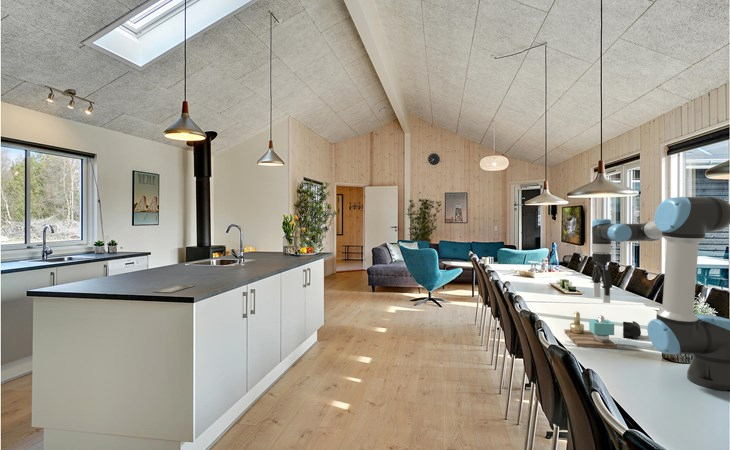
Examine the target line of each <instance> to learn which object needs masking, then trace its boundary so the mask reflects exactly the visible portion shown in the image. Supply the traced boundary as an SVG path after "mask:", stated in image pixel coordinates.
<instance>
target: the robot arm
mask: <svg viewBox="0 0 730 450" xmlns="http://www.w3.org/2000/svg"><path fill="white" fill-rule="evenodd" d="M729 226H730V203H729V201H726V200H725V199H723V198H720V197H715V196H678V197H677V196H676V197H669V198H666V199H665V200H663V201H662V202H661V203H660V204H659V205H658V206H657V208H656V210H655V213H654V220H650V221H648V222H644V223H612V220H611V219H609V218H604V219H603V218H596V219H595V218H594V219H593V220H592V226H591V239H592V240H591V241H592V243H591V252H592V254H591V259H592V260H591V261H592V262H593V271H592V276H591V281H592V282H593V296H592V297H593V298H601V288H602V303H604V304H605V303H606V304H610V303H611V289H612V288H613V282H612V276H611V270H610V269H611V268H610V266H611V265H608V264H607V263H611V262H612V254H611V253H612V249H613V246H612V242H616V243H618V242H619V243H623V242H654V241H659V240H660V239H664V240H666V249H665V251H666V252H665V265H664V267H665V268H664V279H663V292H662V293H663V294H662V295H663V296H662V307H661V308H660V309H659V310H657V311H656V317H655V318H654V319H652V320H649V322H648V323H647V327H646V328H647V336H648V339H649V341H650V342H651V344H652V346H653V347H654V348H655V349H656V350H657V351H659V352H660V353H663V354H666V355H674V356H675V355H691V354H692V355H693V357H692V360H691V362H690V364H689V367H688V369H687V372H686V378H687V380H688V381H690V382H692V383H693V384H696V385H698V386H701V387H705V388H709V389H712V390H716V391H717V390H719V391H725V392H726V391H727V390H730V319H729V318H725V317H722V316H717V315H710V314H707V313H706V314H704V313H694V308H695V297H696V294H695V293H696V283H697V281H696V280H697V268H698V254H699V245H700V243H701V242H702V241H703V240H705V238H706V232H707V233H708V232H716V231H717V232H718V231H721V230H724V229H726V228H727V227H729ZM601 283H602V286H601ZM727 392H728V391H727Z"/></svg>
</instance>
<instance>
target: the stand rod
mask: <svg viewBox="0 0 730 450" xmlns="http://www.w3.org/2000/svg"><path fill="white" fill-rule="evenodd" d="M604 320H605V316H604V315H599V316H598V323H604ZM609 339H610V335H597V334H594V341H595V342H599V343H609Z"/></svg>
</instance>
